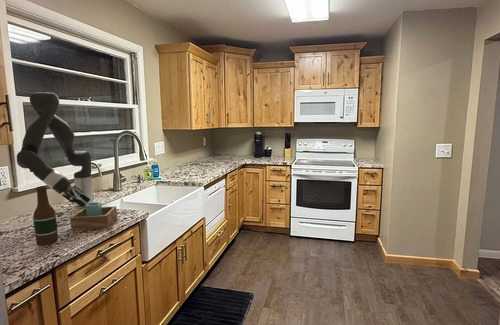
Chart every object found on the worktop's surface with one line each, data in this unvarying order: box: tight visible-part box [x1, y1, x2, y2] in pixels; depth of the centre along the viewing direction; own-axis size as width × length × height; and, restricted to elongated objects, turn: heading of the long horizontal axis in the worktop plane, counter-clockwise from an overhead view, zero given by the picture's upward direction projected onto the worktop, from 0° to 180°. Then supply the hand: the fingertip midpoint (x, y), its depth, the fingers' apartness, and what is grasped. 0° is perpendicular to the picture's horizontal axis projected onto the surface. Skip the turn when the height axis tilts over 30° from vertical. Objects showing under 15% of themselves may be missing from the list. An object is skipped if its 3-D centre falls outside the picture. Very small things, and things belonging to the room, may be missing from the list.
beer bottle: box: [32, 185, 59, 247], centre depth 121 cm, size 8×8×24 cm
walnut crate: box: [69, 205, 118, 231], centre depth 145 cm, size 16×16×6 cm
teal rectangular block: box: [85, 201, 103, 216], centre depth 144 cm, size 6×6×9 cm
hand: (86, 203), depth 143 cm, fingers open, 8 cm apart
